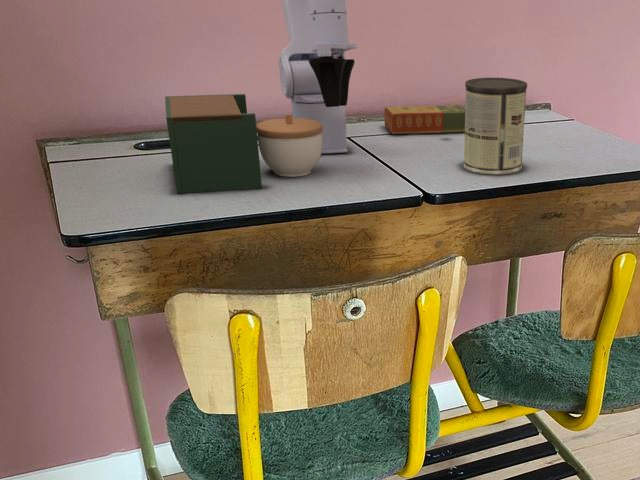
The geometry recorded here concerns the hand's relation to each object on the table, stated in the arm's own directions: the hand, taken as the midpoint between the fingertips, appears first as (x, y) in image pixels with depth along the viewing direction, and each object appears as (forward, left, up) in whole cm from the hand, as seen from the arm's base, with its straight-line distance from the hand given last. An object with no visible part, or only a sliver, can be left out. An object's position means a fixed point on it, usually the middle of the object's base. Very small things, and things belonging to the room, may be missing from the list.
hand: (336, 106), depth 132 cm
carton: (-23, -28, -11) cm, 38 cm away
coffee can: (-26, +3, -11) cm, 29 cm away
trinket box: (+8, -2, -11) cm, 13 cm away
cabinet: (+20, -2, -11) cm, 22 cm away
